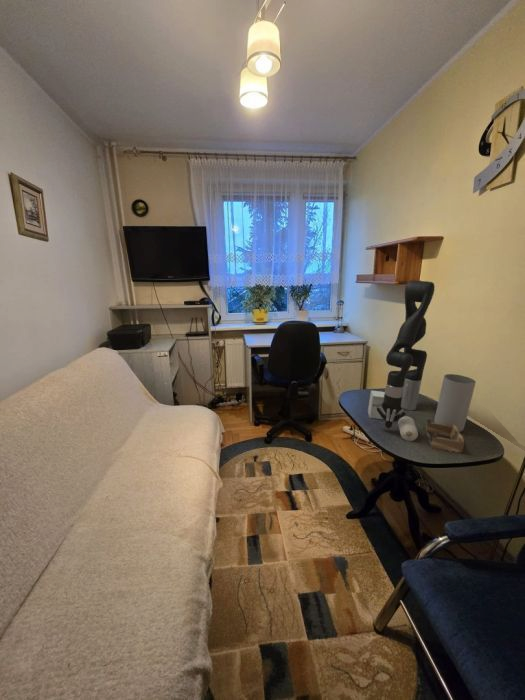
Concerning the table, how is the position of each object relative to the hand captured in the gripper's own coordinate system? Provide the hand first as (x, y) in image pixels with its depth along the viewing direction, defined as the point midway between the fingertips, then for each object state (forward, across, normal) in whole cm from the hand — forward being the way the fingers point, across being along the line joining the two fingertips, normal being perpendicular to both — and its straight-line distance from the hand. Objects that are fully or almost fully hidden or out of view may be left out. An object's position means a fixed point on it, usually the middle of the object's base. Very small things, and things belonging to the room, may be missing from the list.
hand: (387, 427), depth 134 cm
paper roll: (-1, -8, 0) cm, 8 cm away
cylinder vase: (+2, -29, -17) cm, 34 cm away
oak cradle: (+2, -23, 0) cm, 23 cm away
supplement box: (+2, +5, -14) cm, 15 cm away
